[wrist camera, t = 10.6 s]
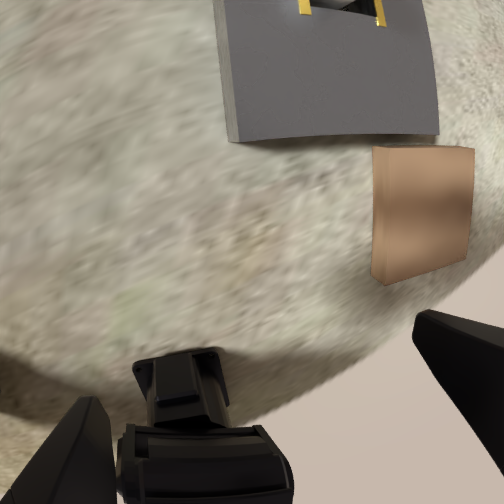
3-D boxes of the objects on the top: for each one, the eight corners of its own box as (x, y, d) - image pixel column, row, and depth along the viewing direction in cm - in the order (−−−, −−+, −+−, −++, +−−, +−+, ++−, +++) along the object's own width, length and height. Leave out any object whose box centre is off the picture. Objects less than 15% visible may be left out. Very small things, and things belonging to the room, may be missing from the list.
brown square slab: (451, 251, 26) (465, 259, 24) (370, 275, 24) (385, 285, 22) (457, 145, 22) (474, 148, 20) (372, 145, 20) (389, 148, 18)
